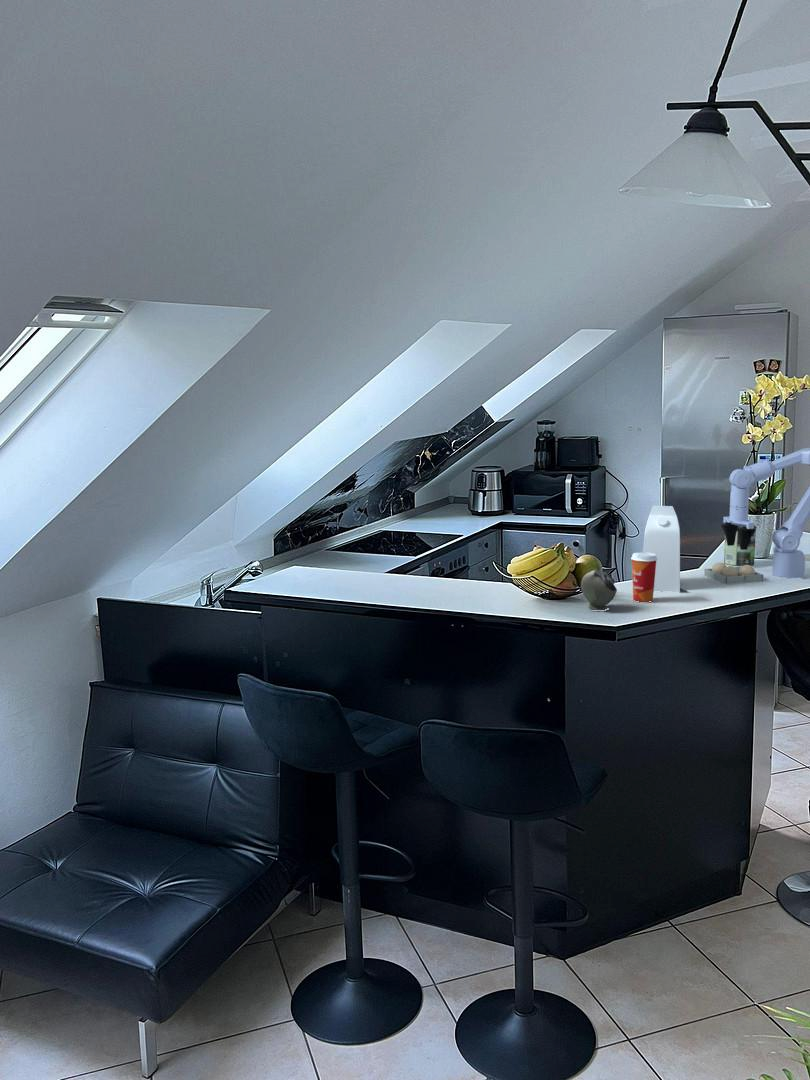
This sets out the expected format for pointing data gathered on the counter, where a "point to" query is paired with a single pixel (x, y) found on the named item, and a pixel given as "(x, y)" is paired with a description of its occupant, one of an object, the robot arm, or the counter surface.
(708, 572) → the carton
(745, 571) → the egg
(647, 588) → the paper cup
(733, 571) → the egg
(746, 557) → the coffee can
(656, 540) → the milk
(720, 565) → the egg
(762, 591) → the counter surface
